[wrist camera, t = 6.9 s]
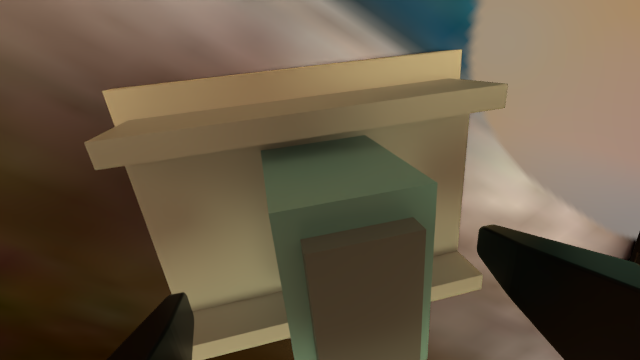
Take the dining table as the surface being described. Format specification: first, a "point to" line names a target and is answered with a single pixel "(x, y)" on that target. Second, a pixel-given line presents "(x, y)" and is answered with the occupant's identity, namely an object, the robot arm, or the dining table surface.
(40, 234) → the dining table surface
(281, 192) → the block
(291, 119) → the mount board
